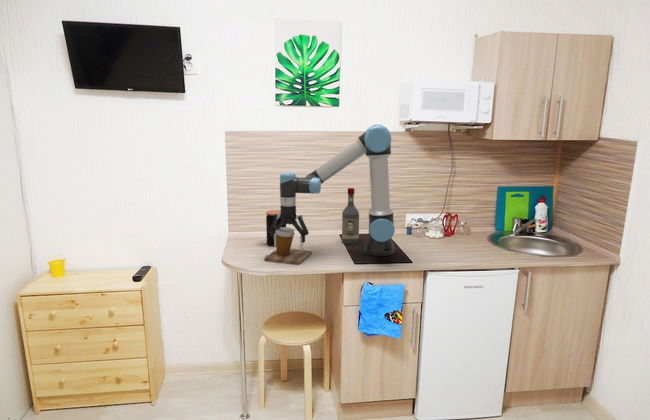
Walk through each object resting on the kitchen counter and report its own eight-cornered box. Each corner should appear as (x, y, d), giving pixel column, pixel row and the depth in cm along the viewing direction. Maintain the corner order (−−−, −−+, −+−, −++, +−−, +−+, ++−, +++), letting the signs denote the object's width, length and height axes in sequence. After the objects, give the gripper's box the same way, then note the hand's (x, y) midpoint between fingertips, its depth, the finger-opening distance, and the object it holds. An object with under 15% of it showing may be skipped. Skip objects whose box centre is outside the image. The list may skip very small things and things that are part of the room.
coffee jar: (262, 245, 237) (262, 212, 233) (274, 240, 246) (273, 208, 242) (279, 247, 232) (278, 214, 228) (290, 242, 241) (289, 210, 237)
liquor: (342, 239, 248) (342, 187, 242) (358, 239, 248) (359, 187, 241) (341, 243, 239) (342, 189, 233) (358, 244, 239) (359, 190, 232)
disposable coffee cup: (289, 257, 212) (291, 234, 209) (270, 254, 213) (272, 231, 210) (294, 251, 221) (297, 229, 218) (276, 248, 222) (278, 225, 220)
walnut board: (312, 253, 222) (312, 250, 222) (299, 265, 206) (299, 261, 205) (279, 250, 228) (279, 247, 227) (264, 261, 211) (264, 258, 211)
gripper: (261, 204, 211) (262, 247, 216) (309, 208, 204) (310, 251, 208) (267, 202, 218) (269, 242, 223) (315, 205, 211) (315, 247, 215)
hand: (288, 247), depth 215 cm, fingers open, 13 cm apart
